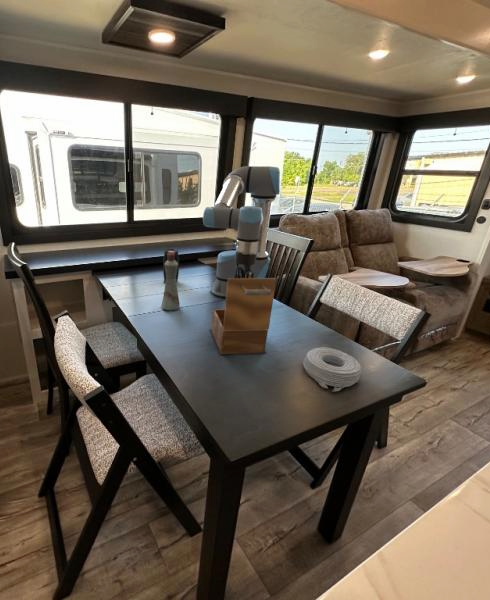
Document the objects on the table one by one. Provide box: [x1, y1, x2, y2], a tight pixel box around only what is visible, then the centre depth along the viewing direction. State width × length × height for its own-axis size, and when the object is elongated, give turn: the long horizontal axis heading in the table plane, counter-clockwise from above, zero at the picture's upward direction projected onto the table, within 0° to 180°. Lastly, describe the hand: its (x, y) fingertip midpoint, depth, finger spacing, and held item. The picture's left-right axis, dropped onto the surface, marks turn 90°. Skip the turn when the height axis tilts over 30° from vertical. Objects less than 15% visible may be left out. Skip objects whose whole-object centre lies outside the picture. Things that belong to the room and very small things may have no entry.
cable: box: [302, 347, 362, 393], centre depth 104 cm, size 18×18×6 cm
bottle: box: [161, 252, 180, 312], centre depth 147 cm, size 9×9×28 cm
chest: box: [210, 308, 269, 355], centre depth 122 cm, size 19×17×10 cm
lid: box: [223, 277, 277, 331], centre depth 105 cm, size 19×17×8 cm
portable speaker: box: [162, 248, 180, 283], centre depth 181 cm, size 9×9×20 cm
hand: (239, 309), depth 119 cm, fingers closed on plastic cup, 9 cm apart
